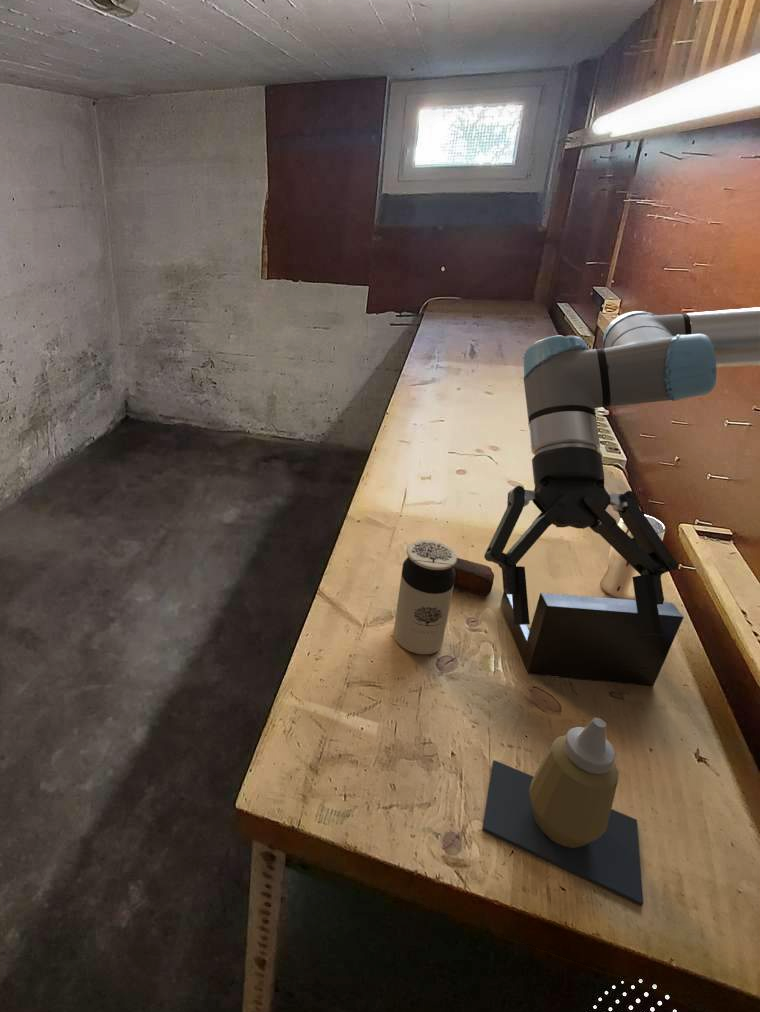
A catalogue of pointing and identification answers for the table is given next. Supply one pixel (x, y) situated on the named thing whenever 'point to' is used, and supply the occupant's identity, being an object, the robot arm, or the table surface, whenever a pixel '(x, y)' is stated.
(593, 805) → the squeeze bottle
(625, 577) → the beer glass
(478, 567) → the brick
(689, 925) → the table surface
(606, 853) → the mat
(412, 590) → the travel mug
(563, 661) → the black angular stand
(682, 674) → the table surface
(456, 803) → the table surface
